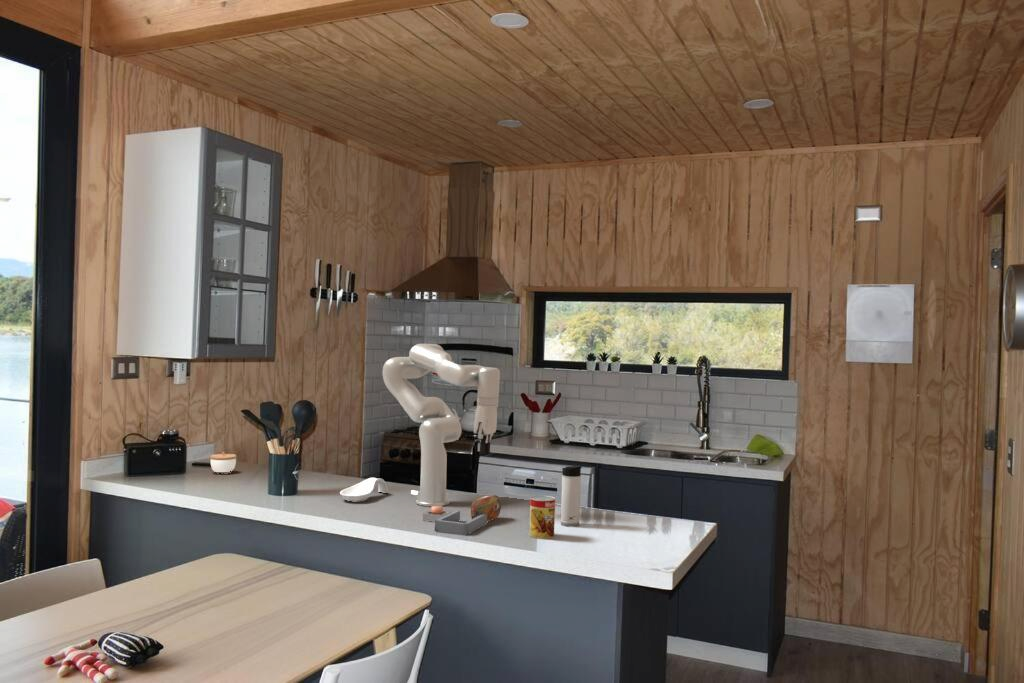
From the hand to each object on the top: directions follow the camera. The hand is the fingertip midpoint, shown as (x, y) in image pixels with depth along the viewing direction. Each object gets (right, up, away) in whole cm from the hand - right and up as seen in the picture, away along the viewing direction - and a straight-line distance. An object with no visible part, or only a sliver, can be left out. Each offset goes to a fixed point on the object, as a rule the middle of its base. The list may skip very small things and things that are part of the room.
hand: (484, 453), depth 287 cm
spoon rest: (-46, -20, +21) cm, 54 cm away
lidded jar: (-116, -18, +65) cm, 134 cm away
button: (-16, -19, -13) cm, 28 cm away
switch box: (-16, -21, -13) cm, 29 cm away
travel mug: (+29, -22, -15) cm, 40 cm away
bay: (-7, -21, -23) cm, 32 cm away
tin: (+1, -21, -12) cm, 25 cm away
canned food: (+19, -22, -31) cm, 43 cm away
